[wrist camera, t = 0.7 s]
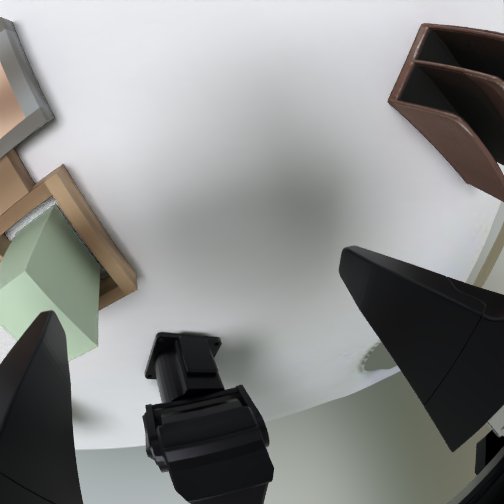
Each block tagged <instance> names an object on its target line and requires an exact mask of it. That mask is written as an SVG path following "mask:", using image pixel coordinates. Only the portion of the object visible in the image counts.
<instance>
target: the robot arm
mask: <svg viewBox="0 0 504 504" xmlns="http://www.w3.org/2000/svg"><path fill="white" fill-rule="evenodd" d="M339 274H340V276H341V278H342V280H343V282H344V283H345V285H346V287H347V288H348V290H349V292H350V294H351V295H352V297H353V299H354V301H355V303H356V304H357V306H358V308H359V309H360V311H361V312H362V314H363V316H364V317H365V318H366V320H367V321H368V323H369V324H370V326H371V327H372V328H373V330H374V331H375V333H376V334H377V336H378V337H379V339H380V340H381V342H382V343H383V344H384V346H385V347H386V349H387V350H388V352H389V353H390V355H391V356H392V358H393V359H394V361H395V362H396V364H397V365H398V367H399V368H400V370H401V371H402V373H403V374H404V376H405V377H406V379H407V380H408V382H409V383H410V385H411V387H412V388H413V390H414V391H415V393H416V395H417V396H418V398H419V399H420V401H421V402H422V404H423V405H424V407H425V409H426V410H427V412H428V414H429V416H430V417H431V419H432V420H433V422H434V424H435V425H436V427H437V428H438V430H439V432H440V434H441V435H442V437H443V439H444V440H445V442H446V444H447V445H448V447H449V449H450V450H451V451H452V452H454V451H455V450H456V449H458V448H459V447H460V446H461V445H462V444H464V443H465V442H466V441H467V440H468V439H469V438H470V437H472V436H473V435H474V434H475V433H476V432H477V431H478V430H479V429H480V428H481V427H482V426H483V425H484V424H485V423H487V424H488V425H489V427H490V428H491V429H490V430H489V432H488V433H486V435H485V436H484V437H483V438H482V439H481V440H480V441H479V442H478V443H477V446H476V464H475V473H476V475H477V476H476V477H475V478H474V479H473V480H472V481H471V482H470V483H469V484H468V485H467V486H466V487H465V488H464V489H463V490H462V491H461V492H460V493H459V494H458V495H457V496H455V497H454V498H453V499H452V500H451V501H450V502H449V503H448V504H504V295H502V294H499V293H496V292H492V291H489V290H486V289H483V288H479V287H476V286H473V285H470V284H467V283H464V282H461V281H458V280H455V279H453V278H450V277H446V276H444V275H441V274H438V273H435V272H433V271H430V270H427V269H424V268H421V267H418V266H415V265H412V264H409V263H406V262H403V261H400V260H397V259H394V258H391V257H388V256H385V255H382V254H379V253H376V252H373V251H370V250H367V249H364V248H361V247H358V246H349V247H345V248H344V249H343V250H342V254H341V259H340V265H339ZM161 338H163V339H161ZM220 345H221V341H220V339H219V338H213V337H199V336H187V335H175V334H165V333H160V334H158V335H156V338H155V341H154V344H153V347H152V350H151V354H150V357H149V360H148V364H147V367H146V370H145V377H146V378H147V379H157V382H158V387H159V392H160V396H161V401H162V403H161V404H155V405H152V404H149V405H145V406H146V413H145V415H143V416H142V417H143V422H144V427H145V434H146V452H147V455H148V457H150V458H151V459H153V460H155V462H156V464H157V465H158V466H159V468H160V470H161V472H168V471H169V473H170V476H171V479H172V482H173V485H174V488H175V490H176V491H177V492H178V493H179V494H180V495H181V496H182V497H183V498H184V499H185V500H186V501H188V502H189V503H191V504H264V499H265V495H266V491H267V487H268V483H269V482H271V481H272V480H273V472H274V467H273V465H272V462H271V460H270V458H269V455H268V452H267V449H266V447H268V446H269V436H268V432H267V428H266V425H265V423H264V420H263V418H262V416H261V414H260V412H259V411H258V409H257V408H256V406H255V405H254V403H253V401H252V400H251V398H250V397H249V395H248V394H247V392H246V390H245V389H244V387H243V386H242V385H239V386H236V387H235V388H231V389H227V390H225V389H224V386H223V383H222V381H221V378H220V376H219V373H218V368H217V366H216V363H215V360H214V357H215V355H216V353H217V351H218V349H219V347H220ZM0 504H83V500H82V495H81V490H80V484H79V478H78V471H77V464H76V457H75V447H74V437H73V425H72V407H71V383H70V373H69V364H68V353H67V339H66V334H65V331H64V329H63V327H62V325H61V323H60V321H59V319H58V317H57V315H56V313H55V312H54V311H53V310H48V311H43V312H41V313H40V314H39V315H38V316H37V317H36V318H35V320H34V321H33V322H32V323H31V325H30V326H29V327H28V328H27V330H26V331H25V332H24V333H23V335H22V336H21V337H20V338H19V340H18V341H17V342H16V344H15V345H14V346H13V348H12V349H11V350H10V352H9V353H8V354H7V356H6V357H5V358H4V360H3V361H2V363H1V364H0Z"/></svg>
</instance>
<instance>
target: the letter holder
mask: <svg viewBox="0 0 504 504" xmlns="http://www.w3.org/2000/svg"><path fill="white" fill-rule="evenodd" d="M388 102H389V103H390V104H391V105H392V106H394V107H395V108H396V109H397V110H398V111H399V112H400V113H401V114H402V115H403V116H404V117H406V119H408V120H409V121H410V122H411V123H412V124H413V125H414V126H415V127H416V128H417V129H418V130H419V131H420V132H421V133H422V134H423V135H424V136H425V137H426V138H427V139H428V140H429V141H430V142H431V143H432V144H433V145H434V146H435V148H436V149H437V150H438V151H439V152H440V153H441V154H442V155H443V156H444V157H445V158H446V159H447V161H449V163H450V164H451V165H452V166H453V167H454V168H455V170H456V171H457V172H458V173H459V174H460V175H461V176H462V178H463V179H464V180H465V181H466V183H468V184H470V185H472V186H474V187H476V188H478V189H480V190H482V191H484V192H486V193H488V194H490V195H492V196H493V197H495V198H497V199H499V200H501V201H503V202H504V175H503V173H502V171H501V169H500V167H499V165H498V164H497V162H498V163H500V164H502V165H504V33H499V32H494V31H488V30H482V29H475V28H468V27H460V26H451V25H438V24H429V23H424V24H422V25H421V27H420V29H419V31H418V34H417V36H416V38H415V41H414V43H413V45H412V48H411V50H410V52H409V55H408V57H407V59H406V62H405V64H404V66H403V68H402V70H401V73H400V75H399V77H398V80H397V82H396V84H395V86H394V88H393V90H392V92H391V95H390V97H389V99H388Z"/></svg>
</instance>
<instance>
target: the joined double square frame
mask: <svg viewBox="0 0 504 504" xmlns="http://www.w3.org/2000/svg"><path fill="white" fill-rule="evenodd" d="M53 118H55V117H54V115H53V113H52V111H51V109H50V107H49V105H48V103H47V101H46V99H45V97H44V95H43V93H42V91H41V89H40V87H39V85H38V83H37V81H36V78H35V76H34V74H33V72H32V69H31V67H30V65H29V63H28V60H27V58H26V56H25V53H24V51H23V49H22V46H21V44H20V41H19V39H18V36H17V34H16V31H15V28H14V26H13V23H12V21H9V20H7V19H4V18H2V17H0V262H1V260H2V258H3V256H4V255H5V253H6V251H7V249H8V247H9V245H10V241H9V240H8V239H7V237H6V236H5V235H4V232H5V231H6V230H8V229H9V228H10V227H11V226H13V225H14V224H15V223H16V222H17V221H19V220H20V219H21V218H23V217H24V216H25V215H26V214H28V213H29V212H30V211H32V210H33V209H34V208H36V207H37V206H38V205H40V204H41V203H42V202H44V201H45V200H46V199H48V198H49V197H51V196H52V195H53V197H54V198H55V200H56V202H57V203H58V205H59V206H60V208H61V209H62V211H63V212H64V214H65V215H66V216H67V218H68V219H69V221H70V222H71V224H72V225H73V227H74V228H75V229H76V231H77V232H78V234H79V235H80V236H81V238H82V239H83V241H84V242H85V243H86V245H87V246H88V247H89V249H90V250H91V251H92V253H93V254H94V255H95V257H96V258H97V259H98V261H99V262H100V263H101V265H102V266H103V267H104V268H105V270H106V271H107V272H108V274H109V276H108V277H106V278H104V279H103V280H101V281H100V286H99V308H98V311H99V310H101V309H103V308H105V307H106V306H108V305H110V304H112V303H114V302H115V301H117V300H119V299H121V298H123V297H125V296H126V295H128V294H130V293H132V292H134V291H136V290H137V279H136V273H135V271H134V270H133V269H132V267H131V266H130V265H129V263H128V262H127V261H126V259H125V258H124V257H123V255H122V254H121V252H120V251H119V250H118V248H117V247H116V245H115V244H114V242H113V241H112V240H111V238H110V237H109V235H108V234H107V232H106V231H105V229H104V228H103V226H102V225H101V224H100V222H99V221H98V219H97V218H96V216H95V215H94V213H93V211H92V210H91V208H90V207H89V205H88V204H87V202H86V201H85V199H84V198H83V196H82V194H81V193H80V191H79V190H78V188H77V186H76V185H75V183H74V181H73V180H72V178H71V176H70V175H69V173H68V171H67V170H66V168H65V166H64V165H61V166H60V167H58V168H57V169H55V170H54V171H53V172H51V173H50V174H48V175H47V176H46V177H44V178H43V179H42V180H40V181H39V182H38V183H36V184H34V182H33V180H32V179H31V177H30V175H29V174H28V172H27V170H26V169H25V167H24V165H23V164H22V162H21V160H20V158H19V157H18V155H17V153H16V151H15V150H14V148H15V147H16V146H17V145H19V144H20V143H21V142H22V141H24V140H25V139H26V138H27V137H29V136H30V135H31V134H33V133H34V132H35V131H37V130H38V129H39V128H41V127H42V126H43V125H45V124H46V123H48V122H49V121H50V120H52V119H53Z"/></svg>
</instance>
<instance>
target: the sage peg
mask: <svg viewBox="0 0 504 504" xmlns="http://www.w3.org/2000/svg"><path fill="white" fill-rule="evenodd" d="M100 271H101V266H100V265H99V264H98V262H97V261H96V260H95V259H94V257H93V256H92V255H91V253H90V252H89V251H88V249H87V248H86V247H85V245H84V244H83V242H82V241H81V240H80V238H79V237H78V236H77V234H76V233H75V231H74V230H73V229H72V227H71V226H70V224H69V223H68V221H67V220H66V218H65V217H64V216H63V214H62V213H61V211H60V210H59V208H58V207H57V205H56V204H54V205H53V206H51V207H50V208H49V209H47V210H46V211H44V212H43V213H42V214H40V215H39V216H38V217H36V218H35V219H34V220H32V221H31V222H30V223H28V224H27V225H26V226H24V227H23V228H22V229H21V230H19V231H18V232H17V233H16V235H15V236H14V238H13V240H12V242H11V243H10V245H9V247H8V249H7V251H6V253H5V255H4V256H3V258H2V260H1V262H0V325H1V326H2V327H3V328H4V329H5V330H6V331H7V332H8V333H9V334H10V335H11V336H12V337H13V338H14V339H16V340H17V341H18V340H19V338H20V337H21V336H22V335H23V333H24V332H25V331H26V330H27V328H28V327H29V326H30V325H31V323H32V322H33V321H34V320H35V318H36V317H37V316H38V315H39V314H40V313H41V312H43V311H48V310H53V311H54V312H55V313H56V315H57V317H58V319H59V321H60V323H61V325H62V327H63V329H64V331H65V334H66V339H67V353H68V362H69V361H71V360H73V359H75V358H77V357H79V356H81V355H83V354H85V353H87V352H89V351H91V350H93V349H94V348H96V347H98V308H99V286H100Z"/></svg>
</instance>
